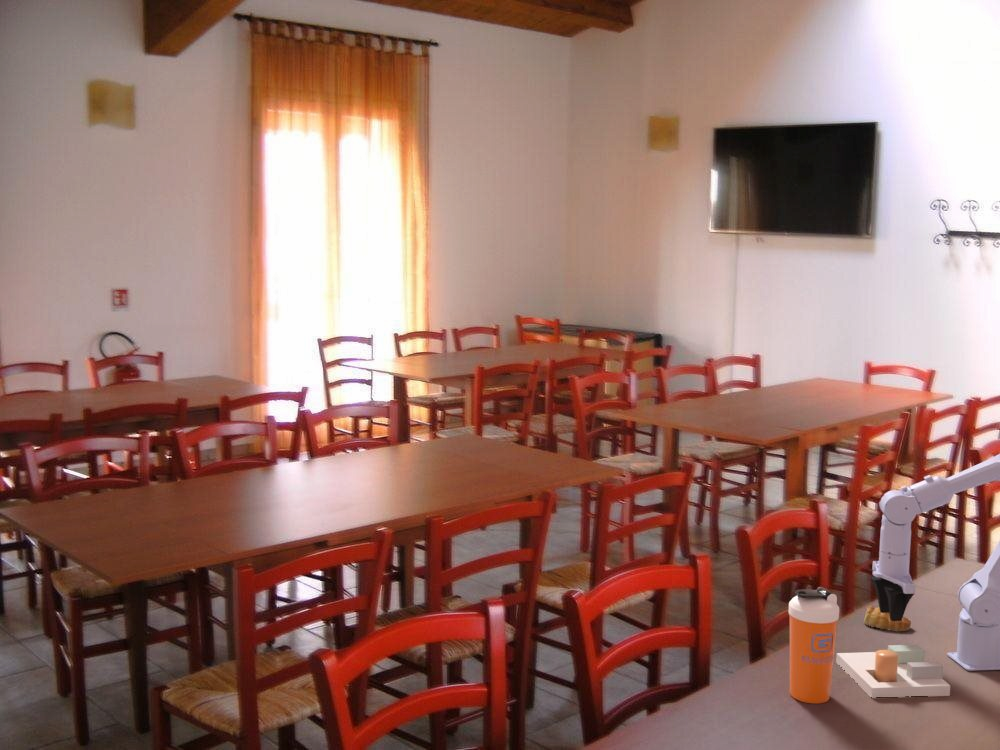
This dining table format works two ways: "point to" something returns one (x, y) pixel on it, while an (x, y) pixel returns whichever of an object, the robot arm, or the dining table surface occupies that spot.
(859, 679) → the housing
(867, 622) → the pastry
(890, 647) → the block
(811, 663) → the shaker bottle
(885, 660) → the peg
